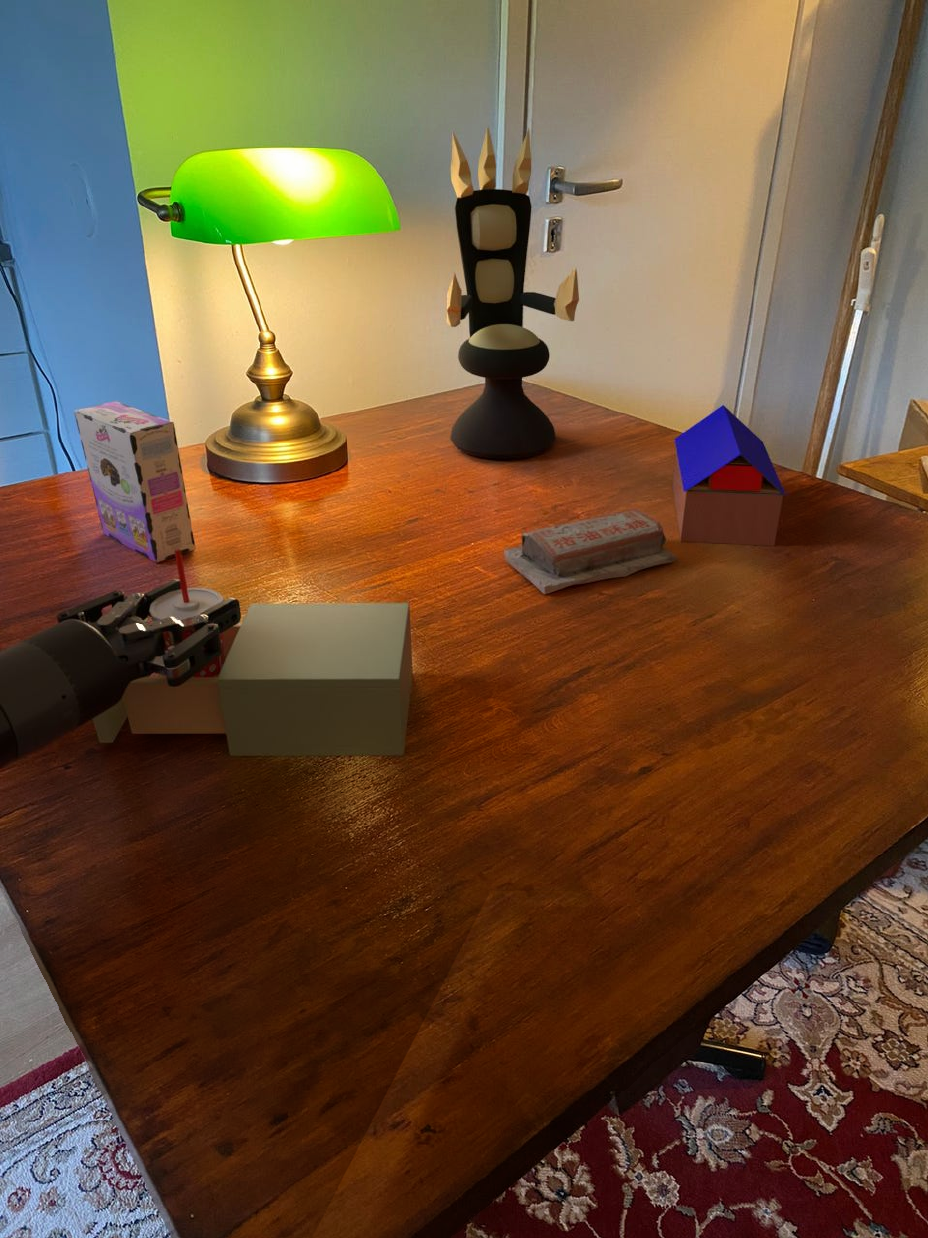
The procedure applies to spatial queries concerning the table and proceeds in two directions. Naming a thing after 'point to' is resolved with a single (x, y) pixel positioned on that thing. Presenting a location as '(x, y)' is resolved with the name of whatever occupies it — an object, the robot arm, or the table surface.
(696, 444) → the house
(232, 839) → the table surface
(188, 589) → the beverage cup
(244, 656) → the cabinet
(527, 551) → the packaged product
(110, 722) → the drawer
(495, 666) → the table surface
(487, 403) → the spiked throne chair
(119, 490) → the candy box
